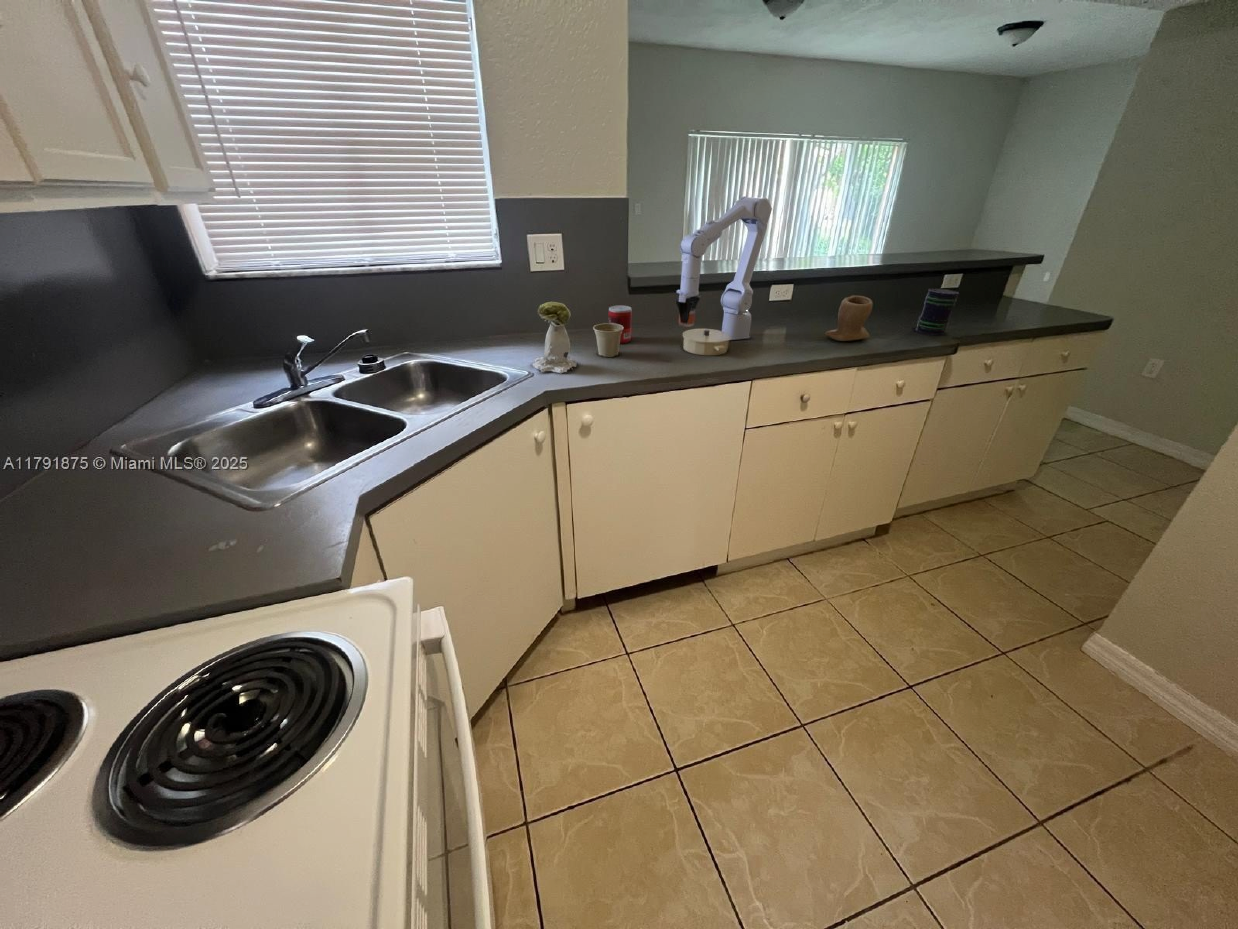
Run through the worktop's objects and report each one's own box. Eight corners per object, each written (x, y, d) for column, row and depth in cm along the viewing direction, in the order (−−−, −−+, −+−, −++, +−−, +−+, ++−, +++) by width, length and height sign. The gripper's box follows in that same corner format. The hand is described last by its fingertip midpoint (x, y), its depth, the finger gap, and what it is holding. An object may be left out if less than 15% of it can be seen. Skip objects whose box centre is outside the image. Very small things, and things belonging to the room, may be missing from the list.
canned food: (631, 337, 171) (632, 305, 165) (629, 344, 164) (630, 311, 158) (609, 336, 171) (610, 304, 166) (607, 343, 165) (607, 310, 159)
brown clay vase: (841, 346, 167) (853, 301, 159) (820, 336, 177) (830, 293, 169) (877, 343, 171) (890, 299, 163) (854, 333, 181) (866, 292, 173)
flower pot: (601, 360, 149) (601, 332, 145) (588, 352, 156) (588, 325, 152) (628, 356, 153) (628, 329, 148) (614, 348, 160) (615, 321, 155)
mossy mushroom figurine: (536, 359, 149) (532, 297, 140) (578, 359, 149) (576, 298, 140) (530, 372, 139) (524, 306, 130) (575, 373, 139) (572, 307, 129)
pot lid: (714, 330, 169) (715, 322, 168) (739, 342, 156) (740, 334, 155) (674, 333, 164) (674, 326, 163) (696, 347, 151) (697, 339, 150)
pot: (708, 338, 172) (709, 326, 170) (740, 355, 156) (742, 343, 154) (671, 341, 168) (672, 330, 165) (700, 359, 152) (702, 347, 150)
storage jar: (947, 331, 186) (962, 291, 178) (941, 336, 180) (956, 294, 172) (918, 326, 192) (932, 287, 184) (912, 331, 185) (925, 290, 178)
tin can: (689, 322, 164) (690, 307, 161) (696, 326, 160) (698, 310, 157) (675, 323, 162) (676, 308, 159) (682, 327, 158) (684, 311, 155)
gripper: (685, 272, 160) (681, 314, 167) (671, 279, 149) (667, 324, 156) (705, 274, 158) (701, 316, 165) (693, 281, 146) (689, 326, 153)
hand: (686, 320), depth 160 cm, fingers closed on tin can, 5 cm apart
